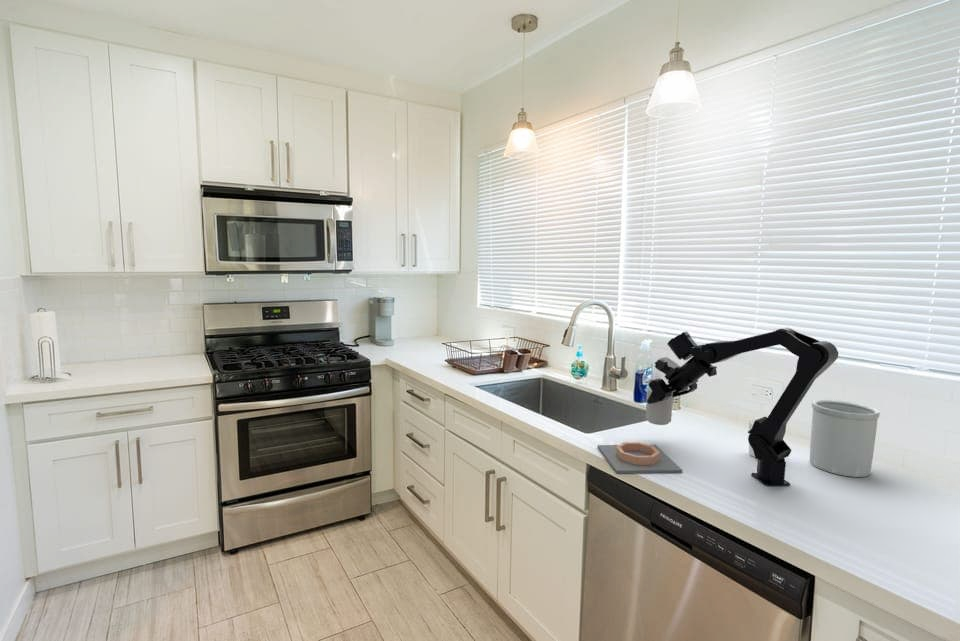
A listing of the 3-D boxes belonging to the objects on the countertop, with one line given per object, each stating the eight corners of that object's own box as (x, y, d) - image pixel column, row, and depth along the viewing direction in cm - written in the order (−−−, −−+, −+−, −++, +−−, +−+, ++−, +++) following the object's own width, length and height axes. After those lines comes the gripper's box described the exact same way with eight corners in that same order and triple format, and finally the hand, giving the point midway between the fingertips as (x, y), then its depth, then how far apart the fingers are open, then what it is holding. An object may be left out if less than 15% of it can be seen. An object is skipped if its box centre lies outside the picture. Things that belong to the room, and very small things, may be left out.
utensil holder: (805, 452, 144) (810, 395, 142) (867, 463, 137) (874, 403, 134) (808, 470, 132) (814, 408, 130) (877, 483, 124) (885, 417, 122)
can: (674, 426, 147) (676, 387, 145) (650, 425, 147) (651, 387, 145) (666, 418, 154) (667, 381, 153) (642, 418, 154) (644, 381, 153)
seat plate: (682, 472, 129) (683, 462, 129) (616, 473, 129) (617, 462, 128) (655, 447, 147) (656, 437, 147) (597, 447, 146) (597, 438, 146)
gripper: (689, 347, 150) (656, 375, 160) (655, 353, 139) (622, 383, 149) (713, 376, 145) (677, 403, 155) (679, 385, 134) (643, 414, 144)
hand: (655, 400), depth 151 cm, fingers closed on can, 7 cm apart
